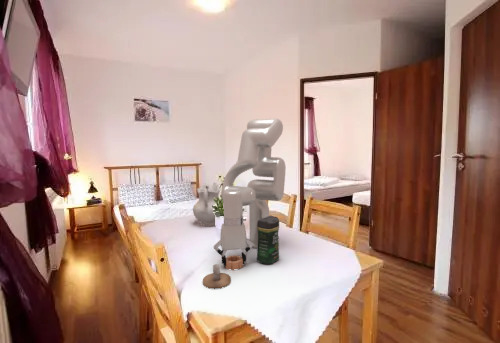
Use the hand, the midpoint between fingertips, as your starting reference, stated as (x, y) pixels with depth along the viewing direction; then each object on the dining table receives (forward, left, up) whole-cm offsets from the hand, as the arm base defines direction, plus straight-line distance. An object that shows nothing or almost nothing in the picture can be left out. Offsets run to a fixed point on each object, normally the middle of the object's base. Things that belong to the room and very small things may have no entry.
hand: (233, 263), depth 114 cm
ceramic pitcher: (+5, -60, -1) cm, 60 cm away
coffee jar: (-15, -2, -1) cm, 15 cm away
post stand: (+8, +11, -1) cm, 14 cm away
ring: (0, 0, -1) cm, 1 cm away
